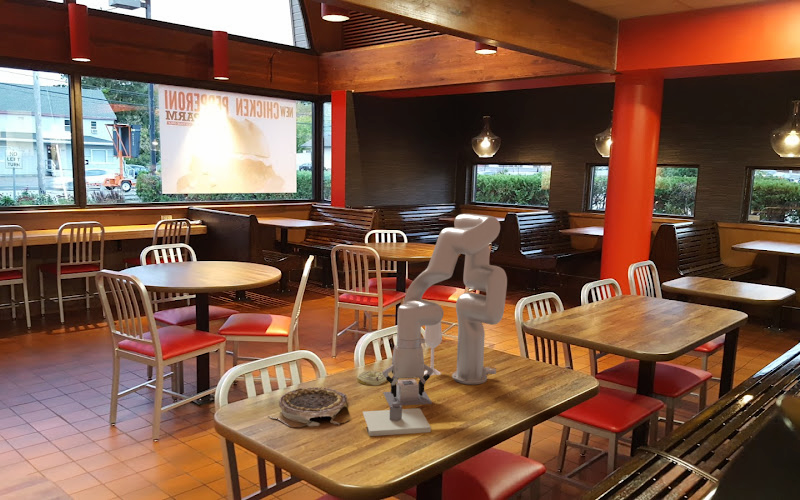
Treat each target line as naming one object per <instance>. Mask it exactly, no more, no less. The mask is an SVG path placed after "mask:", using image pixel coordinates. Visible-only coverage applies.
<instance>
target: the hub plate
mask: <svg viewBox="0 0 800 500" xmlns="http://www.w3.org/2000/svg"><path fill="white" fill-rule="evenodd" d="M362 415H363V417H364V420H365V424H366V427H365V428H366V431H367V434H368V436H369V437H379V436H391V435H392V436H394V435H405V434H407V435H408V434H420V433H421V434H422V433H424V434H425V433H431V430H432V427H431V425H430V423H429V422H428V420H427V418H426V416H425V415H424V413H423V411H422V409H421V407H418V408H416V407H415V408H403V406H400V403H399V402H393V403H392V406H389V409H385V410H384V409H383V410H370V411H369V410H367V411H362Z"/></svg>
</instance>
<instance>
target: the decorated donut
mask: <svg viewBox="0 0 800 500" xmlns="http://www.w3.org/2000/svg"><path fill="white" fill-rule="evenodd" d="M356 380H357V382H358V383H359V384H362V385H367V386H376V387H377V386H379V385H384V384H386V383H387V382H388V381H387V379H386V378H385V376H384V375H383V373H382V372H380V371H375V370H368V371H367V370H366V371H363V372H360V373H359V374H358V375H357V376H356Z"/></svg>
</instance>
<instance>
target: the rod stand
mask: <svg viewBox="0 0 800 500" xmlns="http://www.w3.org/2000/svg"><path fill="white" fill-rule="evenodd" d="M382 393H383V395H384V397H385V400H386V402H387V404H388V406H389V407H390V406H392V403H393V402H399V403H400V406H402V407H404V406H415V405H416V406H418V405H432V404H433V402H432V399H430V397H429V396H428V393H426V391H425V390H424V392H423V395H422V396H421V395H420V394H419V399H418V401H404V402H400V400H399V399H398V397H397V393H396V397H394V396H393V394H391V391H382Z"/></svg>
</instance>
